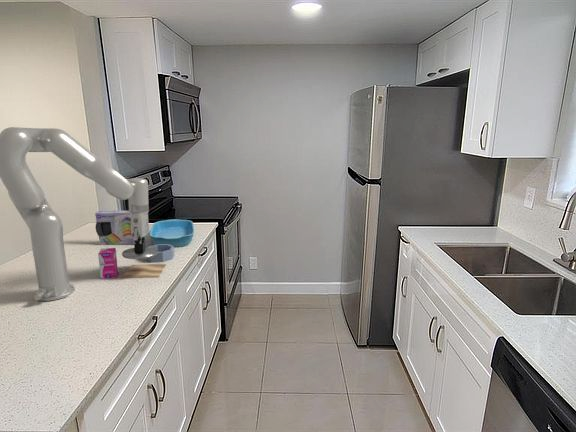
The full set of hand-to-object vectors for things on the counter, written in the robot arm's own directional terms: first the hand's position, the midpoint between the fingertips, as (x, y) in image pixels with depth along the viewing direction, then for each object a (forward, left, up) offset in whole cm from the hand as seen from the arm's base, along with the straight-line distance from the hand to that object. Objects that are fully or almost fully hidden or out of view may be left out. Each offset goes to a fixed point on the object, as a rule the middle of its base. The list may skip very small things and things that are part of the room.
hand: (140, 251), depth 154 cm
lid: (0, 0, -1) cm, 1 cm away
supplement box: (-3, +12, -10) cm, 16 cm away
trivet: (+1, -1, -10) cm, 10 cm away
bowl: (+17, -4, -10) cm, 20 cm away
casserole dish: (+47, -4, -10) cm, 48 cm away
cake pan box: (+41, +23, -10) cm, 48 cm away
